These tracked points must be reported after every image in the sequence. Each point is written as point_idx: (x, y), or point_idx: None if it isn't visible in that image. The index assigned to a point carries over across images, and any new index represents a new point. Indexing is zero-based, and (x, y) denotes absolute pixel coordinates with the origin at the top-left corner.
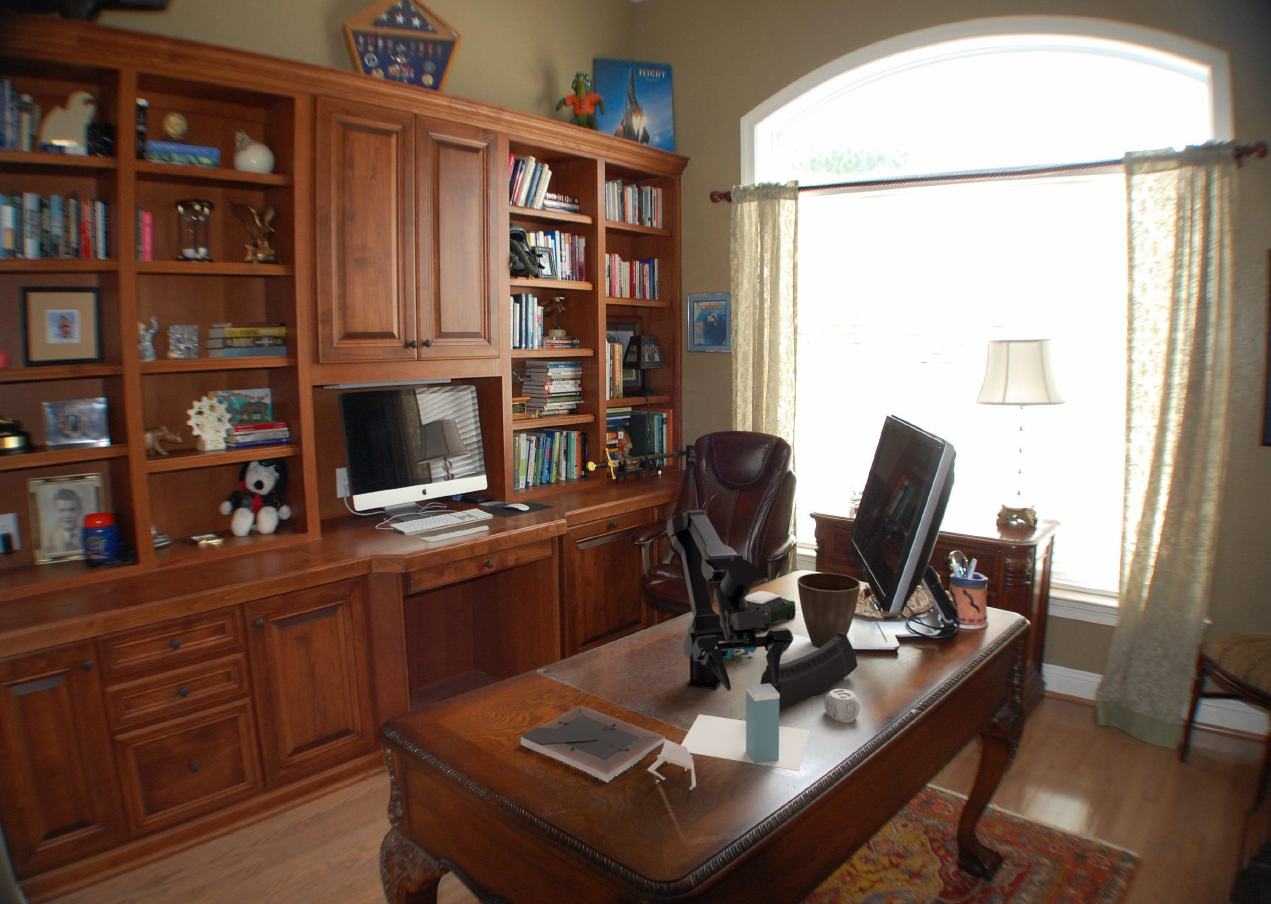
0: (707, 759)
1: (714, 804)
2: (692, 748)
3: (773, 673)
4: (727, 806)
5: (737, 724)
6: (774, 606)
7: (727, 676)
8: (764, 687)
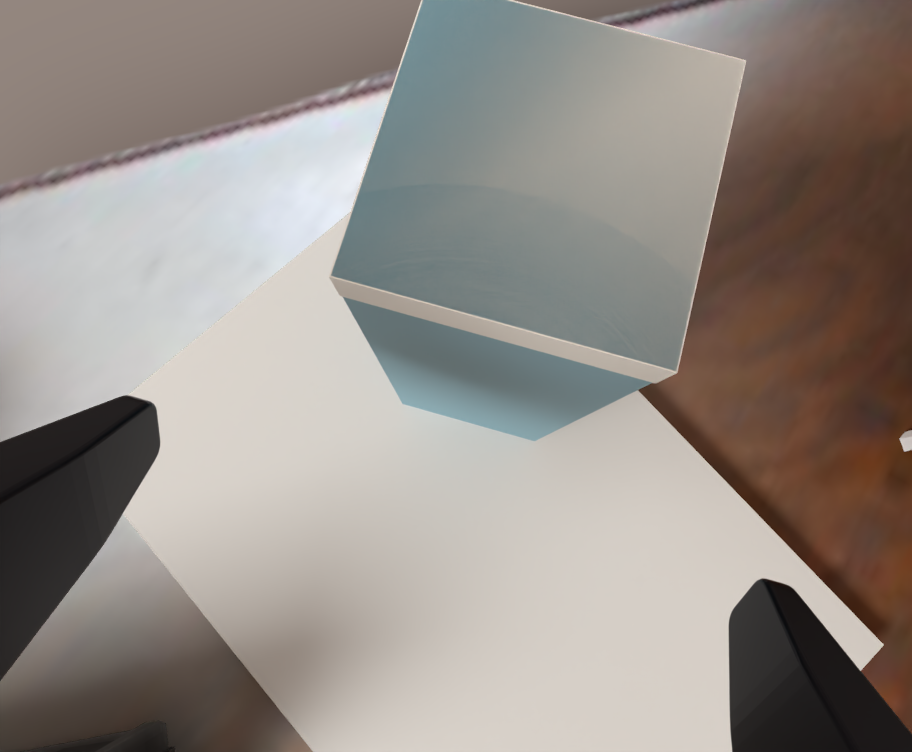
0: (745, 501)
1: (897, 160)
2: None
3: (45, 528)
4: (852, 123)
5: (391, 743)
6: None
7: (853, 731)
8: (481, 204)
